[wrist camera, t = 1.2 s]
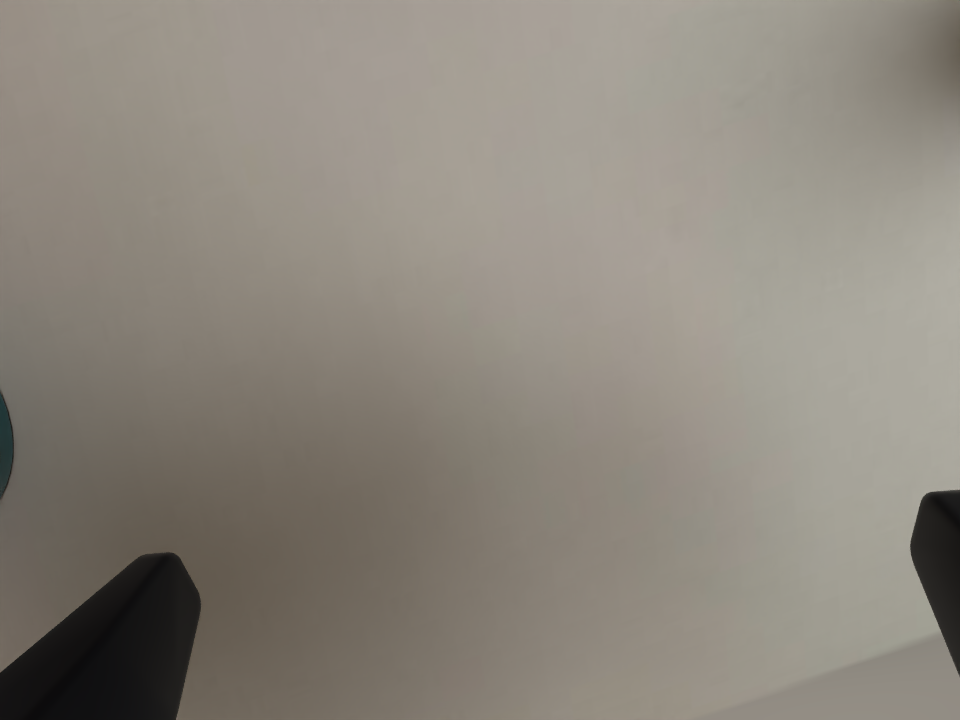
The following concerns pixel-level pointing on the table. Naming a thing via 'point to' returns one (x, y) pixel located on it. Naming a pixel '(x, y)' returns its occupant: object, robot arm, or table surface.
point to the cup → (5, 446)
